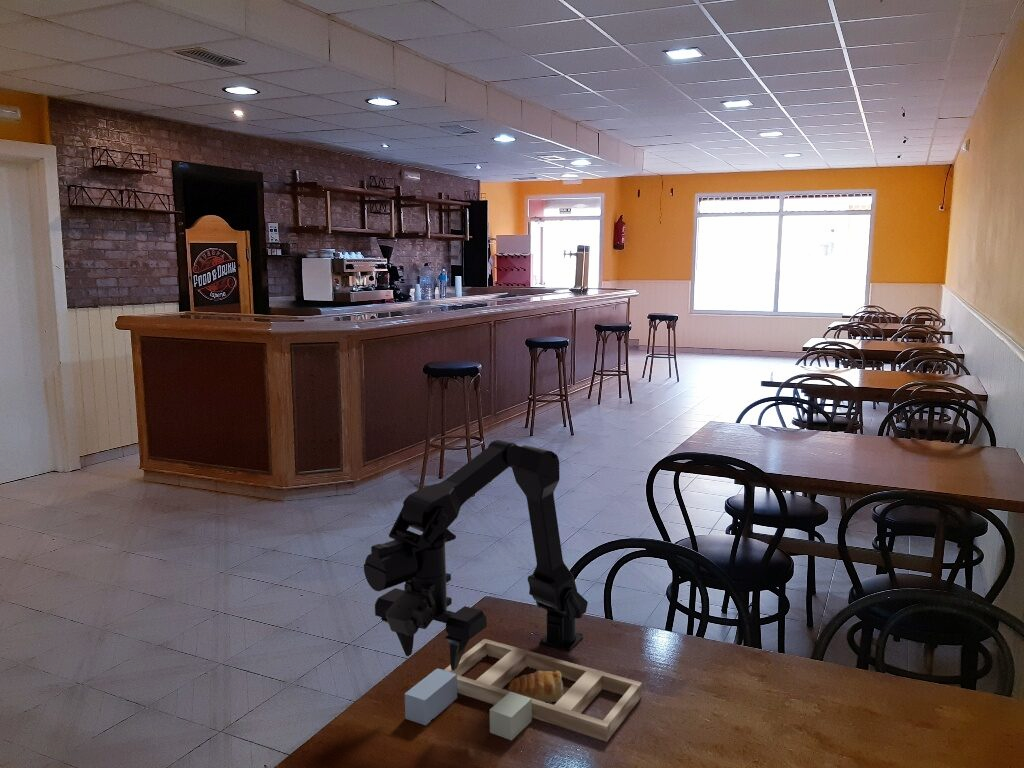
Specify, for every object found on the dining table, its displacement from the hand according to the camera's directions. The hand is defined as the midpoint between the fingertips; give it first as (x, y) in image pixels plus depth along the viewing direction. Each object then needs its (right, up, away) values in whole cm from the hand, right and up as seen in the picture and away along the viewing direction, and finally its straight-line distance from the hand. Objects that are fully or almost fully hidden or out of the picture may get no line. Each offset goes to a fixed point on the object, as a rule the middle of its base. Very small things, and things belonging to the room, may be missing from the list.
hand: (431, 662), depth 128 cm
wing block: (0, -8, +1) cm, 8 cm away
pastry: (+18, -8, +5) cm, 20 cm away
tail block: (+13, -9, -4) cm, 16 cm away
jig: (+18, -7, +6) cm, 20 cm away
